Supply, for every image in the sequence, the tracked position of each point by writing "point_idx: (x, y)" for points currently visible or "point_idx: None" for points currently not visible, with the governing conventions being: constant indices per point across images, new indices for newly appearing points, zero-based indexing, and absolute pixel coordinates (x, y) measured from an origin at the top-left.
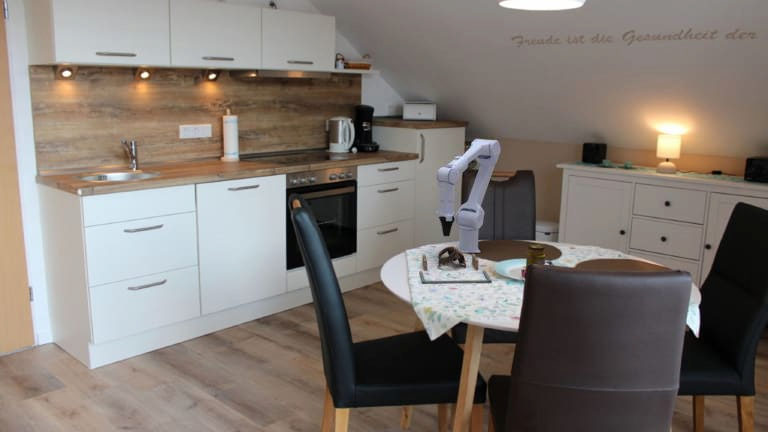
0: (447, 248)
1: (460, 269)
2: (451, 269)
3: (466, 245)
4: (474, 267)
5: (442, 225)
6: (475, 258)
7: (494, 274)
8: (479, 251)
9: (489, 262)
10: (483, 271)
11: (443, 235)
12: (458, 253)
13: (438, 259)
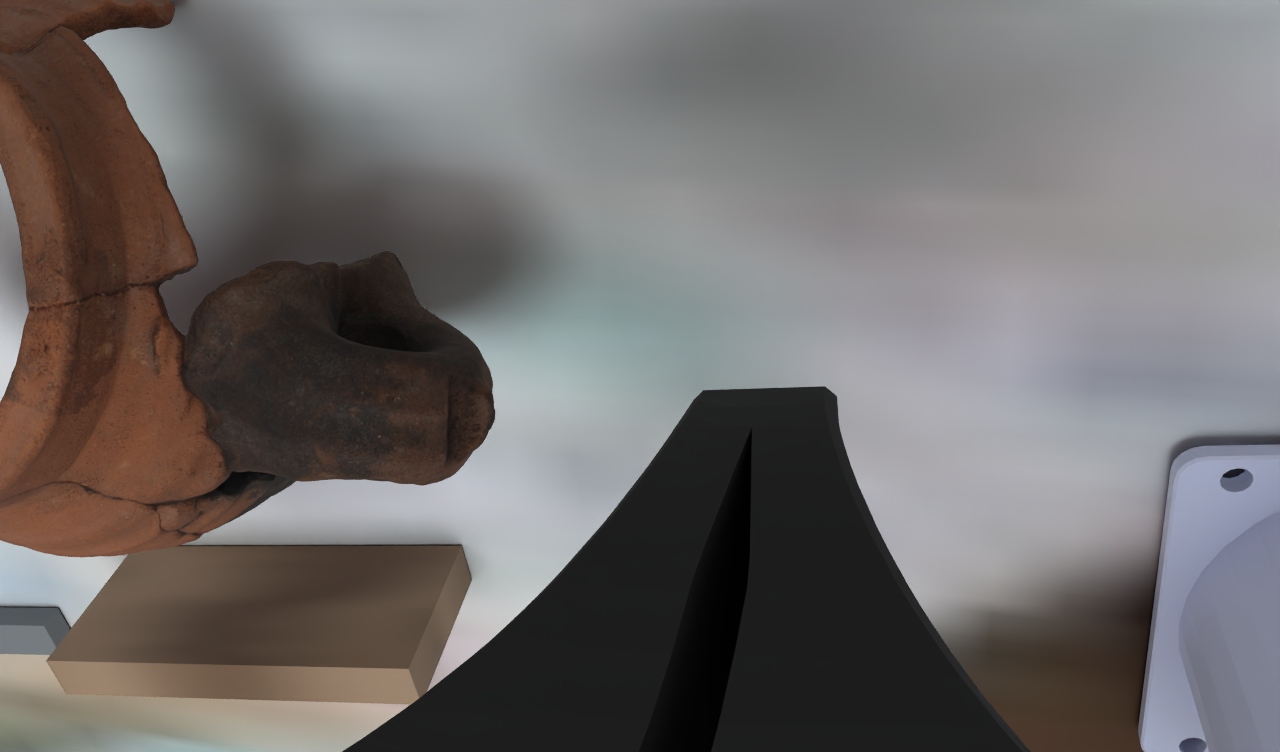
0: (26, 336)
1: None
2: (8, 215)
3: (1233, 666)
4: (212, 552)
5: (455, 680)
6: (146, 672)
7: (31, 705)
8: (1147, 749)
9: None
10: (6, 628)
11: (790, 390)
12: (237, 480)
13: (23, 12)
